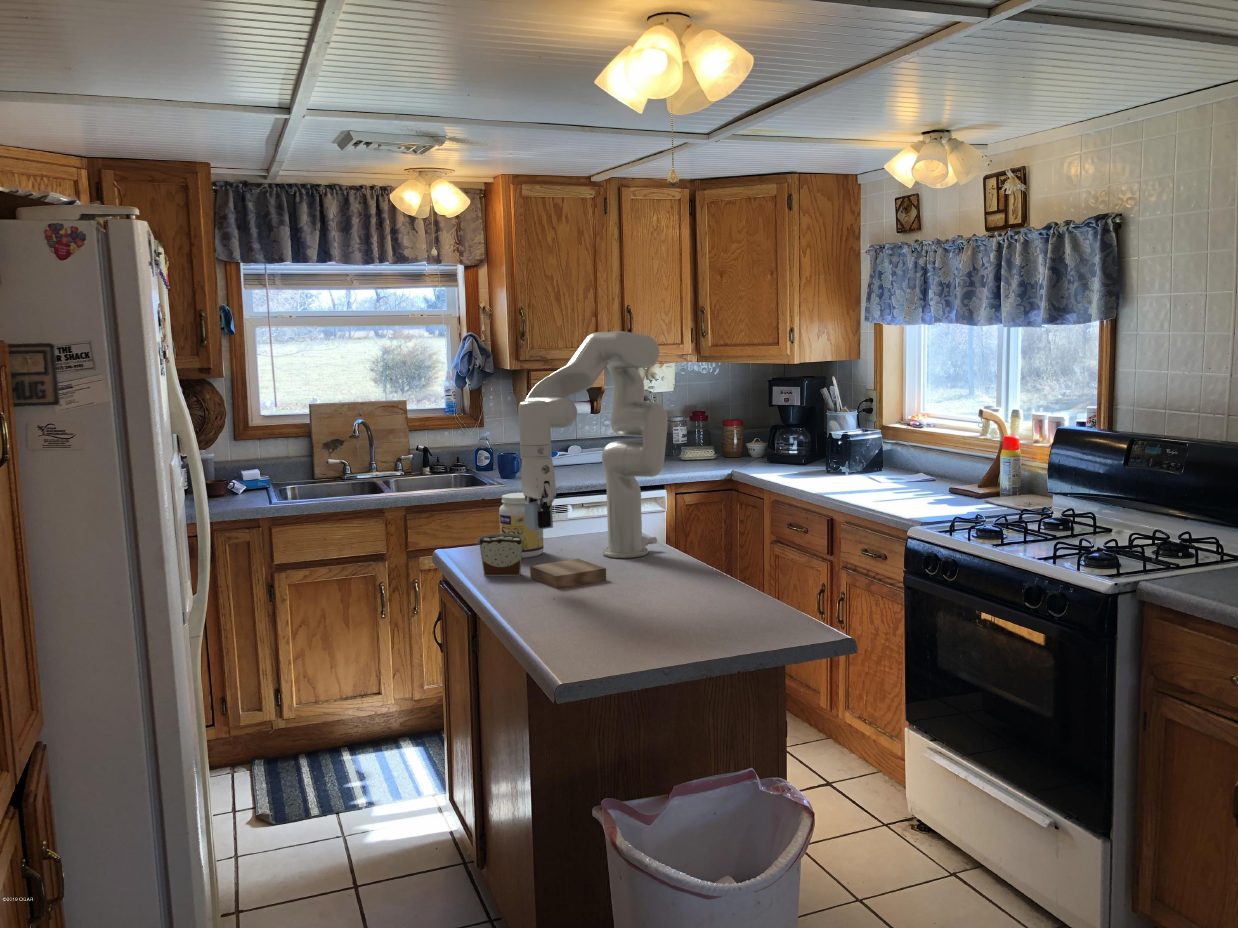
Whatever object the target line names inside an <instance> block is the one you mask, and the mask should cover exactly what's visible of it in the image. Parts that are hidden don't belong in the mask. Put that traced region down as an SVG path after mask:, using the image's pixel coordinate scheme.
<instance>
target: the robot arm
mask: <svg viewBox="0 0 1238 928" xmlns="http://www.w3.org/2000/svg"><path fill="white" fill-rule="evenodd" d="M659 357H660V347H659V344H658V342H657V341H656V339H654V337H652V336H650V335H647V334H646V335H645V334H642V333H641V334H639V333H636V332H635V333H634V332H629V331H623V330H622V331H621V330H619V331H617V330H616V331H597V332H593V333H591V334H588V335H587V336H586V338H585V339H584V340H583V342H582V343H581V345H580V346H579V347H578V348H577V350H576V351H575V352H574V354H573V356H571V358H570V359H569V361H568V362H567V364H566V365H565V366H563V367H561V368H559V369H557V370H556V371H554V372H552V373H551V374H550V375H547V376H546V377H544V378H542V380H540V381H539V382H537V383H536V384H535V385H534V387H532V389H531V390H530V391H529V393H528V395H526V397H525V398H524V400H523V401H521V402H520V403H519V405H518V408H517V413H518V427H519V428H518V429H519V430H518V431H519V433H518V435H519V448H520V449H519V450H520V451H519V453H520V459H521V489H522V490H521V491H522V493H523V494H524V496H525V500H526V503H529V502H537V501H538V507H539V511H538V527H539V528H544V527H550V526H551V514H550V511H551V505H552V506H553V503H554V501H555V498H556V496H557V486H556V475H555V468H554V463H553V459H552V455H553V454H552V432H551V429H564V428H569V427H570V426H572V425H573V424H574V422H575V421H576V419H577V416H578V408H577V406H576V403H575V402H573V400H571V399H569V398H566V397H569V396H572V395H575V394H579V393H582V392H583V391H586V390H588V389H590V388H591V387H593V385H594V384H595V382H596V381H597V379H598V378H599V376H600V375H601V374H602V373H603V371H604V370H605V369H606V368H607V370H608V372H609V374H610V377H611V379H612V383H613V395H612V403H611V404H612V405H611V417H610V426H611V429H612V432H613V433H614V434H615V435H619V436H622V437H623V436H625V437H641V438H643V439H642V441H640V440H639V441H638V440H637V441H635V440H615V441H611V442H609V443H608V444H606V445H605V447H604V448H603V449H602V453H601V462H602V467H603V471H604V477H605V486H606V487H605V488H606V510H607V511H606V512H607V517H606V518H607V547H605V548H603V549H602V555H603V556H605V557H607V558H615V559H630V558H632V559H633V558H639V557H644V556H646V555H648V552H649V549H648V548H647V546H648V545H655V544H658V539H657V537H656V536H650V537H648V536H644V535H643V526H642V525H643V522H642V521H643V520H642V492H641V487H640V484H639V482H638V480H637V478H636V477H645V478H647V477H648V478H652V477H653V478H654V477H656V476H658V475H660V473H661V472H662V470H663V468H664V464H665V458H666V457H665V456H666V446H667V445H666V444H667V435H668V415H667V412H666V410H665V408H664V407H663V405H661V403H659V402H654V401H644V400H645V382H644V380H643V378H642V375H641V374H640V372H639V370H638V369H640V368H643V369H645V368H646V369H648V368H651V367H653V366H654V365H655V364H656V363H657V362H658V360H659ZM637 368H638V369H637ZM542 501H544V502H543V505H542Z"/></svg>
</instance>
